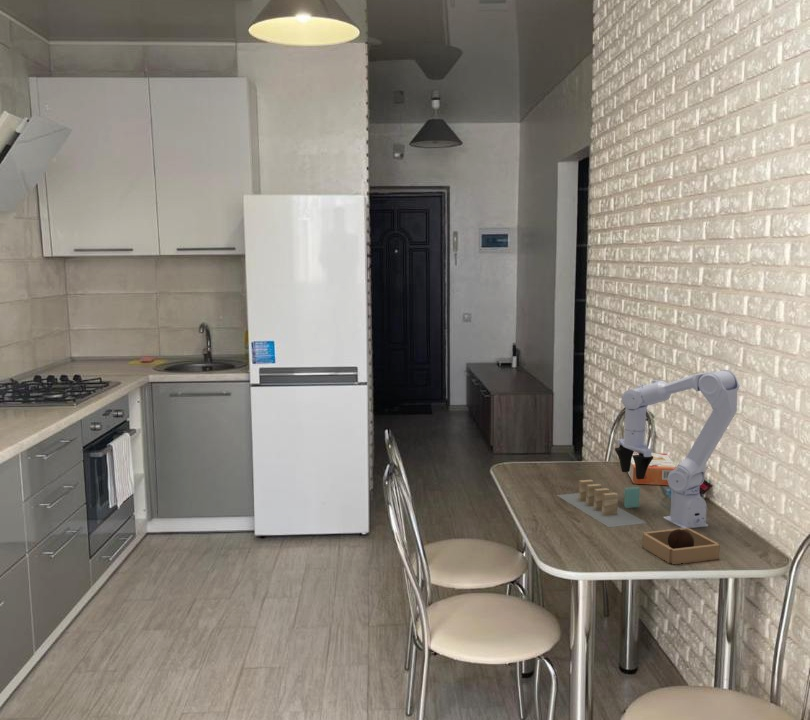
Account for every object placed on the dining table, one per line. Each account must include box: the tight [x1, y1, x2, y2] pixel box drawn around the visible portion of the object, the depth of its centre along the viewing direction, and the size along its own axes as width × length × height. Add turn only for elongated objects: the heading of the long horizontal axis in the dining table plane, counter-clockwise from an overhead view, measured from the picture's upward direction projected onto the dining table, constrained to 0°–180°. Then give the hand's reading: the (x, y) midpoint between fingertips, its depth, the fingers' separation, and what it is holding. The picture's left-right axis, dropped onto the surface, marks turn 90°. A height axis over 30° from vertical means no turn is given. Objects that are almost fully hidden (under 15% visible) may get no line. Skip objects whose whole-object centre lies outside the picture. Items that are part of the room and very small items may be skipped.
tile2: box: [602, 492, 619, 516], centre depth 223 cm, size 2×4×6 cm, turn 107°
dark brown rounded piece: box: [666, 528, 694, 549], centre depth 196 cm, size 8×8×7 cm
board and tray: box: [556, 492, 721, 565], centre depth 217 cm, size 56×15×4 cm, turn 17°
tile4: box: [586, 483, 602, 506], centre depth 232 cm, size 2×4×6 cm, turn 107°
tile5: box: [577, 479, 594, 502], centre depth 236 cm, size 2×4×6 cm, turn 107°
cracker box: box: [627, 451, 677, 486], centre depth 264 cm, size 14×6×21 cm
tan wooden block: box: [594, 487, 611, 511], centre depth 228 cm, size 2×4×6 cm, turn 107°
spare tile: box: [623, 486, 641, 509], centre depth 231 cm, size 2×4×6 cm, turn 107°
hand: (632, 475), depth 230 cm, fingers open, 7 cm apart
